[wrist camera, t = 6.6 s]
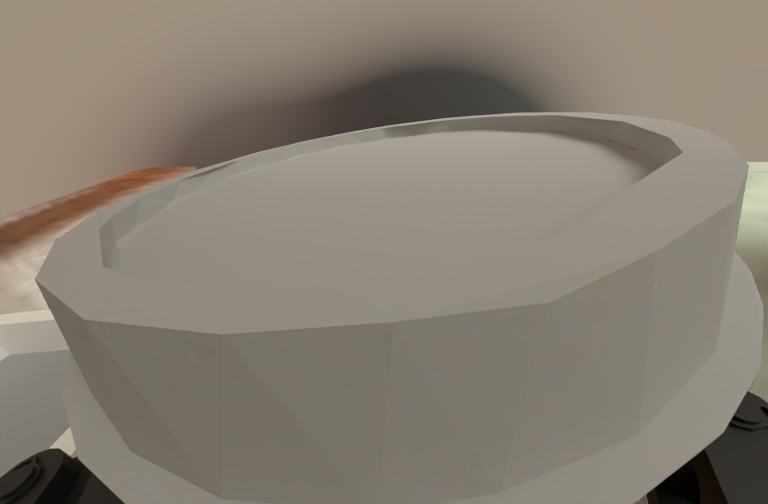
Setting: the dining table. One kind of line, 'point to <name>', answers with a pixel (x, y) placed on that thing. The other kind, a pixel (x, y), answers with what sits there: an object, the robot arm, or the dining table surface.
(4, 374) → the square well
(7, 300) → the dining table surface
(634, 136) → the disposable coffee cup
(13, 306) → the dining table surface
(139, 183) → the dining table surface
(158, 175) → the dining table surface
